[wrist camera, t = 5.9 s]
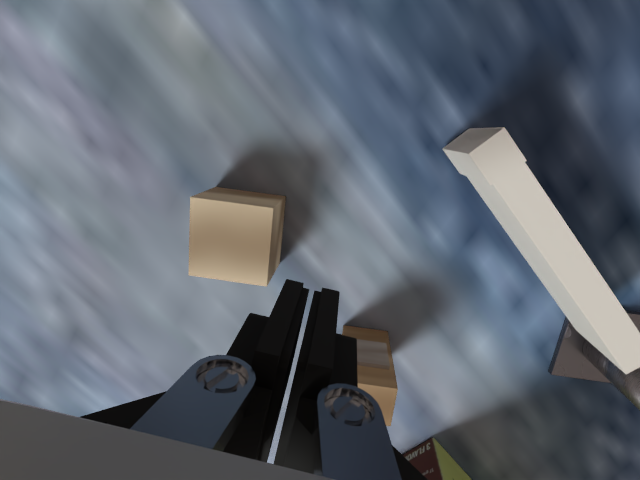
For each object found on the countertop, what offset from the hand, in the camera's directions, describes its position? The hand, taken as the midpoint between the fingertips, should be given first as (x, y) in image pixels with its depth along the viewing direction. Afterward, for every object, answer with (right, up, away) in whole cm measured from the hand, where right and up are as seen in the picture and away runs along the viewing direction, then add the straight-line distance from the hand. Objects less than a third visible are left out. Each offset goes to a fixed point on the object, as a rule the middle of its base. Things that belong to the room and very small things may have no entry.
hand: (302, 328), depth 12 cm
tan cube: (-4, +4, +13) cm, 14 cm away
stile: (+3, -4, +14) cm, 15 cm away
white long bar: (+13, +3, +11) cm, 17 cm away
